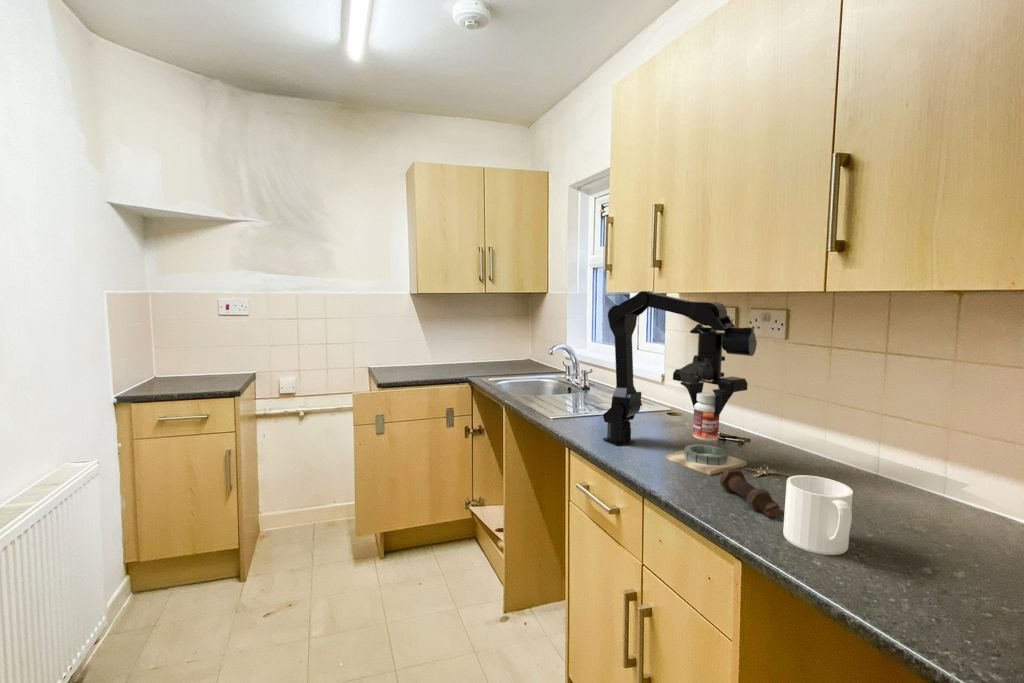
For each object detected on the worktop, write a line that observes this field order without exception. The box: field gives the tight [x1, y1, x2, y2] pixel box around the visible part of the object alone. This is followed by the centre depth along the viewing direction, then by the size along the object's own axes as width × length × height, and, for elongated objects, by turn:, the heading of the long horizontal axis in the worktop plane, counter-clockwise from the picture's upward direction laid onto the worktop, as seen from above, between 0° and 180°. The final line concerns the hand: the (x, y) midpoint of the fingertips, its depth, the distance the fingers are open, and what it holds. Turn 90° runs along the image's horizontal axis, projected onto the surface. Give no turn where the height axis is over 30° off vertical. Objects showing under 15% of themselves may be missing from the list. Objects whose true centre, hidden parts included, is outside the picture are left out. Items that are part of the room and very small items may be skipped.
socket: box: [664, 443, 748, 476], centre depth 133 cm, size 14×14×3 cm
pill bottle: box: [692, 392, 720, 442], centre depth 131 cm, size 6×6×11 cm
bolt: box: [719, 468, 781, 518], centre depth 107 cm, size 6×5×15 cm
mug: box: [782, 474, 854, 556], centre depth 90 cm, size 13×10×10 cm
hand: (706, 412), depth 131 cm, fingers closed on pill bottle, 6 cm apart
